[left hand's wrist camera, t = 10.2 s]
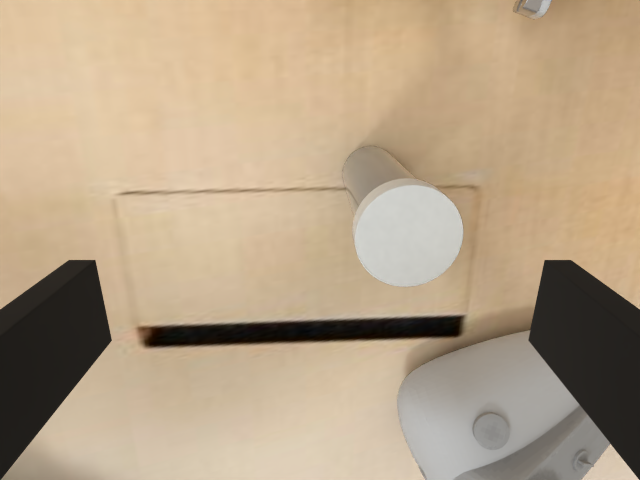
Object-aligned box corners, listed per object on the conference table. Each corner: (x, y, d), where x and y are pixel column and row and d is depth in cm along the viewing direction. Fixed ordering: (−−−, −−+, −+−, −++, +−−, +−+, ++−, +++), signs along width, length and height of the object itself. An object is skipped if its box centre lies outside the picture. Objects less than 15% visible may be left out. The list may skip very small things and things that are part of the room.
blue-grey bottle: (378, 209, 38) (419, 291, 23) (332, 184, 37) (344, 251, 22) (407, 163, 36) (472, 218, 21) (360, 135, 35) (393, 172, 21)
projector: (544, 486, 49) (632, 641, 36) (358, 443, 47) (377, 592, 33) (649, 329, 42) (810, 448, 28) (436, 267, 40) (501, 365, 26)
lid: (416, 290, 24) (423, 303, 23) (333, 246, 23) (334, 257, 22) (474, 209, 22) (485, 218, 21) (387, 158, 21) (393, 164, 20)
